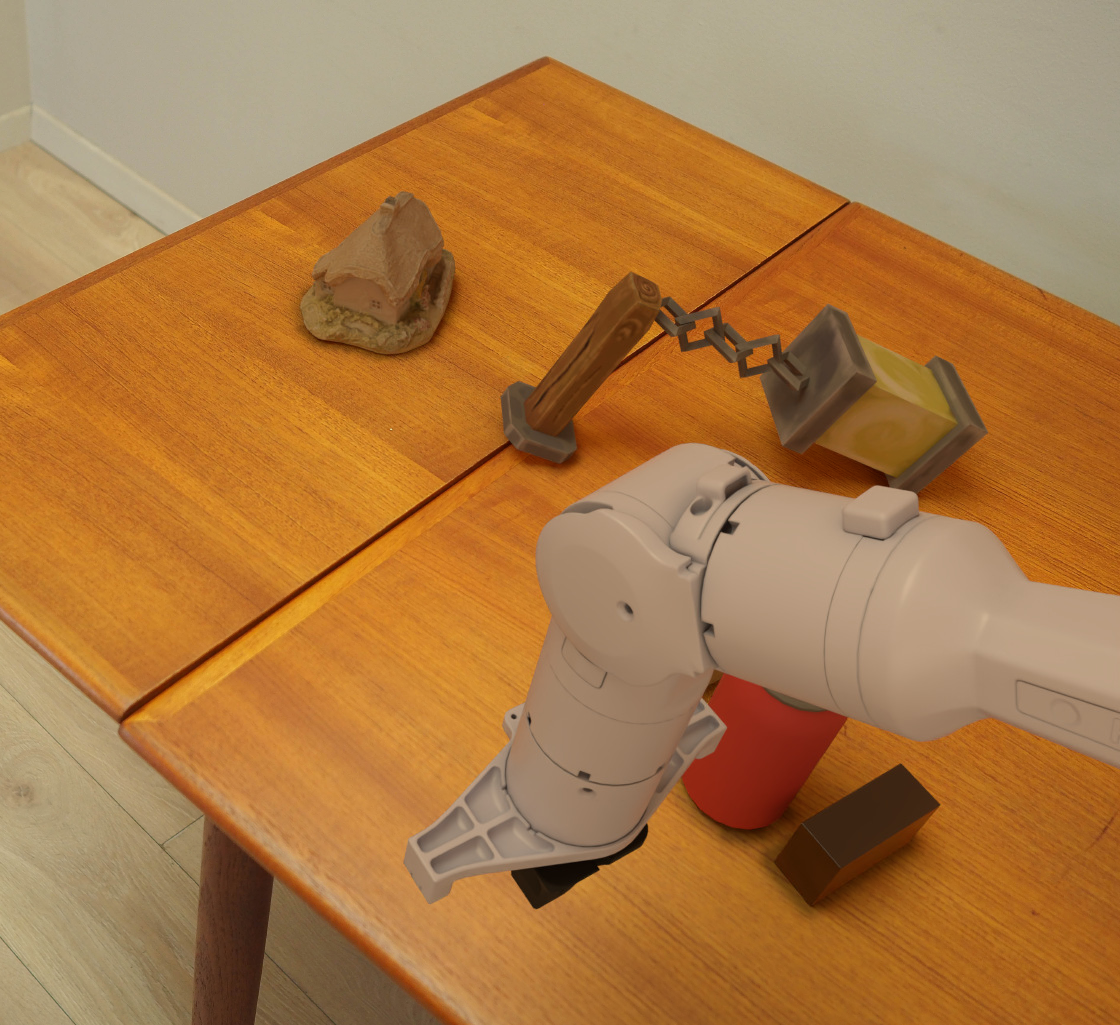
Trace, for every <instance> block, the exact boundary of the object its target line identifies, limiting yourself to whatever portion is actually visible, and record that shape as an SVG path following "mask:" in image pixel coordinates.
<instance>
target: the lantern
mask: <svg viewBox="0 0 1120 1025" xmlns="http://www.w3.org/2000/svg"><path fill="white" fill-rule="evenodd" d="M662 307H663V308H664V309H665V310H666V311H667V312H668V313H669V314H670V315H671V316H672V317H673V319H674V322H673V320H672V319H671V318H670V317H668V315H666V314H665V312H664V311H663V310H662V309H661V308H662ZM708 318H711V319H712V325H713V327H711V328H708V329H706V330H703V338H701V339H698V340H694V341H690V342H689V339H688V338H689V337H688V332H690V331H693V330H695V329H697V324H696V321H702V320H704V319H708ZM654 322H655V323H656V324H657V325H658V326H659V327H660V328H661V329H662V330H663V331H664V332H665V333H666V334H667V335H668V336H669V337H670V338H674V337H675V338H676V337H677V338H678V343H679V349H680V352H681V353H686V352H690V351H691V352H692V351H695V350H698V349H703V348H707V347H711V346H712V347H713V348H714V349H715V350H716V351H717V352H718V353H719V354H720V355H721V356H722V357H723V358H724V359H725V360H726V361H727V362H728V363H729V364H735V363H736V364H737V370H738V374H739V375H738V377H739V379H744V378H749V377H753V376H758V375H759V381H760V384H761V386H762V389H763V392H764V395H765V398H766V401H767V404H768V407H769V410H770V413H771V417H772V419H773V424H774V425H775V430H776V431H777V434H778V437H779V441H780V443H781V446H782V448H783V447H784V448H785V449H788V450H791V452H795V453H798V454H800V455H803V454H804V453H805V452H807V451H808V449H810V447H811V446H813V445H814V444H816V445H818V446H821V447H822V448H825V449H828V450H830V451H833V452H835V453H837V454H839V455H842V456H844V457H847V458H849V459H851V460H854V461H856V462H858V463H860V464H863V465H865V466H868V467H870V468H871V469H875V470H876V471H879V472H881V473H884V476H885V478H886V481H887V483H888V485H889V488H895V489H900V490H906V491H911V492H914V493H915V494H916V495H918V494H919V493H920V492H921V491H923V489H925V488H926V487H927V486H928V485H929V484H931V483H932V482H933V481H934V480H935V479H937V477H939V476H940V475H941V474H942V473H943V472H945V471H946V470H947V469H948V468H949V467H951V466H952V465H953V464H954V463H955V462H956V461H957V460H959V459H960V458H961V457H962V456H963V455H965V453H967V452H968V451H969V450H970V449H972V448H973V447H974V446H975V445H976V444H977V443H979V442H980V441H981V440H982V439H983V438H984V437H985V436H987V435H988V434H989V431H988V429H987V427H986V424H985V423H984V421H983V419H982V416H981V415H980V413H979V411H978V410H977V408H976V407H977V406H976V405H975V403H974V402H973V400H972V398H971V396H970V394H969V392H968V390H967V388H966V386H965V384H964V382H963V380H962V378H961V376H960V374H959V373H958V371H957V368H956V366H955V365H954V363H952V362H950V361H948V360H946V359H944V358H942V357H940V356H937V355H936V354H935V355H934V356H933V357H932V358H930V359H929V361H927V363H925V364H924V365H923V364H920V363H919V362H917V361H915V360H912V359H911V358H908V357H906V356H903V355H902V354H899V353H897V352H895V351H893V350H891V349H889V348H887V347H885V346H882V345H881V344H879V343H876V342H874V341H872V340H871V339H868V338H866V337H864V336H861V335H859V334H858V333H857V332H856V329H855V328H854V325H853V323H852V321H851V318H850V316H849V314H848V312H846V311H845V310H842V309H840V308H838V307H837V306H834V305H832V304H830V303H827V304H826V305H825V306H823V307H822V309H821V310H820V311H819V312H818V313H817V314H816V316H815V317H813V319H812V320H811V321H810V322H809V323H808V324H807V325H806V326H805V327H804V328H803V330H801V331H800V333H799V334H798V335H797V336H796V337H794V339H793V340H792V341H791V342H790V343H789V345H788V346H787V347H785V349H784V350H782V342H781V334H780V333H779V334H778V333H777V334H773V335H772V334H771V335H768V336H764V337H760V338H756V339H752V340H748V341H747V339H745V338H744V337H743V336H742V335H741V334H740V333H739V332H738V331H737V330H736V329H735V328H734V327H733V326H732V325H731V324H730V323H729V322H723V317H722V311H721V306H716V307H711V308H707V309H703V310H700V311H696V312H692V313H691V312H690V313H687V311H686V310H684V309H683V308H682V307H681V306H680V304H678V303H677V301H676V300H674V298H672V296H665V297H662V295H661V292H660V288H659V284H658V283H656V282H655V281H652V280H650V279H649V278H646V277H644V276H643V275H639V274H637V273H635V272H633V271H629V272H628V273H627V274H626V275H625V276H624V277H622V278H621V280H619V281H618V282H617V283H616V284H615V285H614V286H613V287H612V288H611V289H610V290H609V291H608V292H607V294H606V295H605V296H604V298H603V299H602V301H601V302H600V303H599V304H598V306H597V307H596V309H595V311H594V312H593V313H592V315H591V316H590V318H589V319H588V321H587V322H586V323H584V325H583V327H582V328H581V329H580V330H579V332H578V333H577V334H576V336H575V337H574V338H573V339H572V341H571V342H570V343H569V345H567V347H566V348H565V350H564V351H563V352H562V353H561V355H560V356H559V357H558V359H557V360H556V361H555V362H554V364H552V366H551V367H550V368H549V370H548V371H547V373H546V374H545V375H544V376H543V377H542V379H541V380H540V381H539V383H538V384H537V385H536V386H534V385H531V384H528V383H525V382H522V381H520V380H518V381H515V382H513V383H512V384H510V385H508V386H506V388H505V390H504V391H503V393H502V394H501V395H500V405H501V416H502V426H503V428H502V429H503V435H504V436H505V437H506V439H507V440H509V442H510V443H511V444H512V445H513V447H514V448H515V449H516V450H518V451H521V452H524V453H527V454H530V455H532V456H535V457H538V458H542V459H544V460H547V461H550V462H553V463H556V464H560V465H561V464H562V463H565V462H566V461H567V460H569V459H570V458H571V457H572V456H573V454H574V453H576V451H577V449H578V445H577V439H576V432H575V427H574V421H573V419H574V418H575V417H576V415H578V413H579V412H580V411H581V410H582V409H583V407H584V406H585V405H586V403H588V402H589V400H590V399H591V398H592V397H593V396H594V394H595V393H596V392H598V390H599V388H600V387H601V386H602V385H603V384H604V382H606V380H607V379H608V378H609V377H610V376H611V374H613V372H614V371H615V369H616V368H618V366H619V365H620V364H621V363H622V362H623V360H624V359H625V357H627V356H628V354H630V352H632V350H633V349H634V348H635V347H636V345H637V344H638V343H639V342H640V341H641V340H642V339H643V338H644V336H645V335H647V333H648V332H649V331H650V330H651V327H652V326H653V324H654ZM726 339H727V340H728V341H729V342H730V343H731V344H732V345H733V347H734V349H735V350H734V349H733V348H732V346H730V345H729V344H728V343H727V342H726ZM770 345H771V349H772V356H771V357H770V358H768V359H766V363H764V364H761V365H756V366H751V367H748V362H747V358H748V357H750V356H752V355H754V349H758V348H761V347H766V346H770Z"/></svg>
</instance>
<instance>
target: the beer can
mask: <svg viewBox="0 0 1120 1025" xmlns="http://www.w3.org/2000/svg"><path fill="white" fill-rule="evenodd" d="M707 704H708V705H709V707H710V708H711V709H712V710H713V711H714V712H715V713H716V715H717V716H718V717H719V718H720V719H721V720H722V722H723V723H724V724H725V725H726V726H727V729H726V731H725V733H724V735H723V736H722V738H721V740H720V742H719V744H718V746H717V747H716V749H715V751H714V752H713V753H711V754H709V755H707V756H705V757H703V758H702V759H696V758H695V759H694V761H693V762H692V763H691V765H690V766H689V767H688V769H687V770H686V771H685V773H684V774H683V775H682V777H681V780H682V783H683V785H684V787H685V789H686V790H685V791H686V792H687V795H688V797H689V798H690V799H691V800H692V801H693V803H694V804H695V805H696V806H697V807H698V809H699V810H700V811H701V812H703V813H704V814H706V815H707V816H708V817H710V818H711V819H713V821H715V822H718V823H721V824H723V825H725V826H727V827H730V828H734V829H743V830H750V831H751V830H755V829H760V828H761V829H762V828H766V827H769V826H770V825H773V824H774V823H776V822H778V820H780V819H781V818H782V817H783V815H784V814H785V812H786V811H787V809H788V808H789V807H790V806H791V804H792V802H793V801H794V800H795V798H796V797H797V795H798V793H799V792H800V790H801V789H802V788H803V786H804V784H805V783H806V781H807V780H808V778H809V777H810V775H811V774H812V773H813V771H814V770H815V768H816V767H817V766H818V764H819V762H820V761H821V760H822V758H823V756H824V755H825V753H826V752H827V751H828V749H829V748H830V746H831V745H832V744H833V742H834V740H835V739H836V737H837V736H838V734H839V733H840V731H841V729H842V728H843V727H844V725H845V724H846V722H847V721H848V718H849V717H846V716H843V715H840V714H838V713H835V712H832V711H829V710H826V709H824V708H821V707H818V706H815V705H812V704H810V703H807V702H804V701H801V700H799V699H796V698H793V697H790V696H787V695H785V694H782V693H779V692H776V691H773V690H771V689H768V688H765V687H762V686H760V685H757V684H754V683H751V682H748V681H746V680H743V679H740V678H737V677H734V676H732V675H729V674H726V673H724V674H723V676H722V678H721V679H720V680H718V683H717V685H716V687H715V689H714V690H713V693H712V695H711V697H710V699H709V701H708V703H707Z"/></svg>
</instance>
